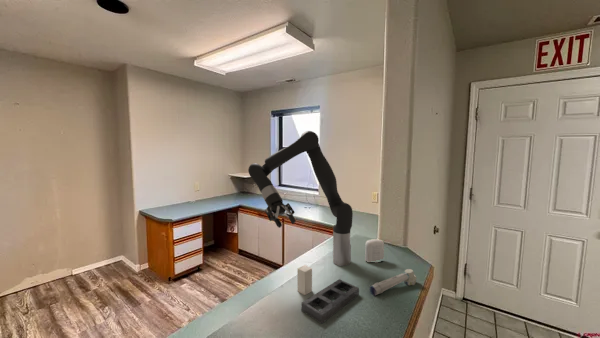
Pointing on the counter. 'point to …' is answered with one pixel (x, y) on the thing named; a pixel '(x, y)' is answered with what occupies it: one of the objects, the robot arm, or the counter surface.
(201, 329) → the counter surface
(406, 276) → the grey knobbed rod
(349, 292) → the grey holed base
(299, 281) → the peg
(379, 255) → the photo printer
